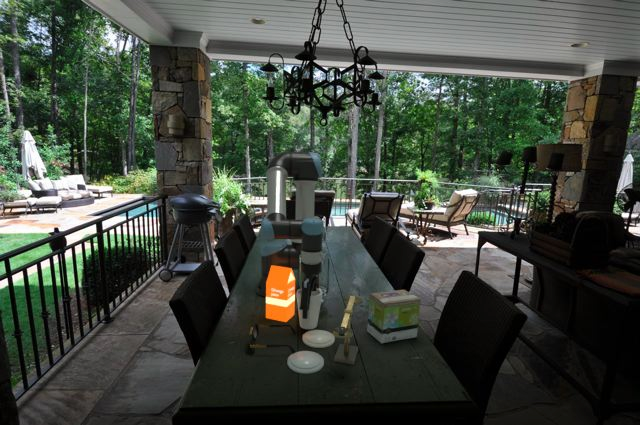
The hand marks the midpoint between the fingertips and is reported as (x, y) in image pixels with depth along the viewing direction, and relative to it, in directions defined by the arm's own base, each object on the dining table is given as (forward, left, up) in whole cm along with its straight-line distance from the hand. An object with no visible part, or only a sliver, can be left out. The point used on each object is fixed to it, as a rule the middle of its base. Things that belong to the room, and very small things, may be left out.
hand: (309, 320), depth 134 cm
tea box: (+30, +3, -2) cm, 30 cm away
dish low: (+6, -24, -2) cm, 25 cm away
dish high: (+6, -9, -2) cm, 11 cm away
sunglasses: (-8, -16, -3) cm, 18 cm away
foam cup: (0, 0, -2) cm, 2 cm away
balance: (+17, -16, -2) cm, 24 cm away
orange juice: (-13, +4, -2) cm, 14 cm away
